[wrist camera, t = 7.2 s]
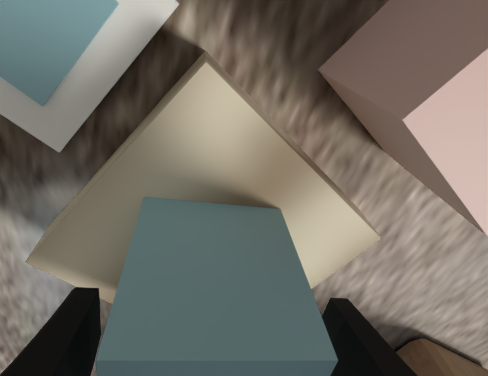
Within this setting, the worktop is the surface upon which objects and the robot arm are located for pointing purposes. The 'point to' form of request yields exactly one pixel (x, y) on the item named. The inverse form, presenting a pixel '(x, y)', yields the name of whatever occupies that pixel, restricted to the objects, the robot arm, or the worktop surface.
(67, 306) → the robot arm
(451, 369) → the wooden block
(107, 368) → the teal cube
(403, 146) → the rose cube
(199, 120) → the birch block
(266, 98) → the worktop surface
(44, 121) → the card
